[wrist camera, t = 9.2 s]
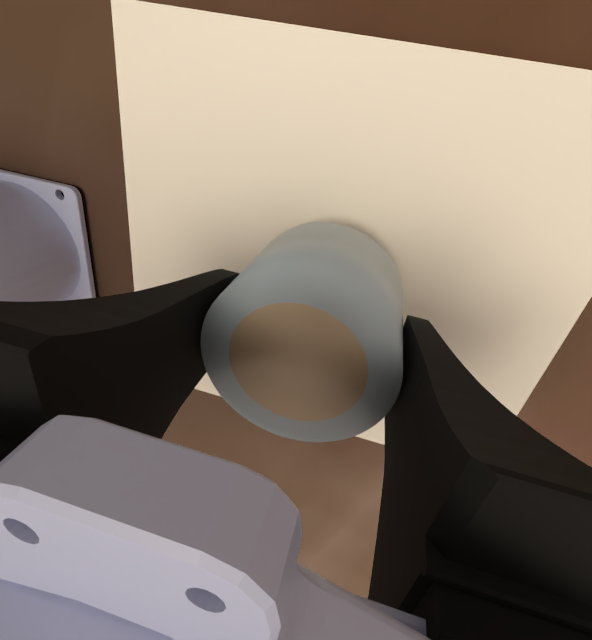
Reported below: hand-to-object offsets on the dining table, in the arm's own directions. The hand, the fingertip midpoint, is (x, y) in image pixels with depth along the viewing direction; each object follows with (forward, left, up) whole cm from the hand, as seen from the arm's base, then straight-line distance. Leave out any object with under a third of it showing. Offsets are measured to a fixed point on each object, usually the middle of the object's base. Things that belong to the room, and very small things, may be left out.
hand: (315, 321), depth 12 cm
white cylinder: (0, 0, -1) cm, 1 cm away
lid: (0, 0, -3) cm, 3 cm away
